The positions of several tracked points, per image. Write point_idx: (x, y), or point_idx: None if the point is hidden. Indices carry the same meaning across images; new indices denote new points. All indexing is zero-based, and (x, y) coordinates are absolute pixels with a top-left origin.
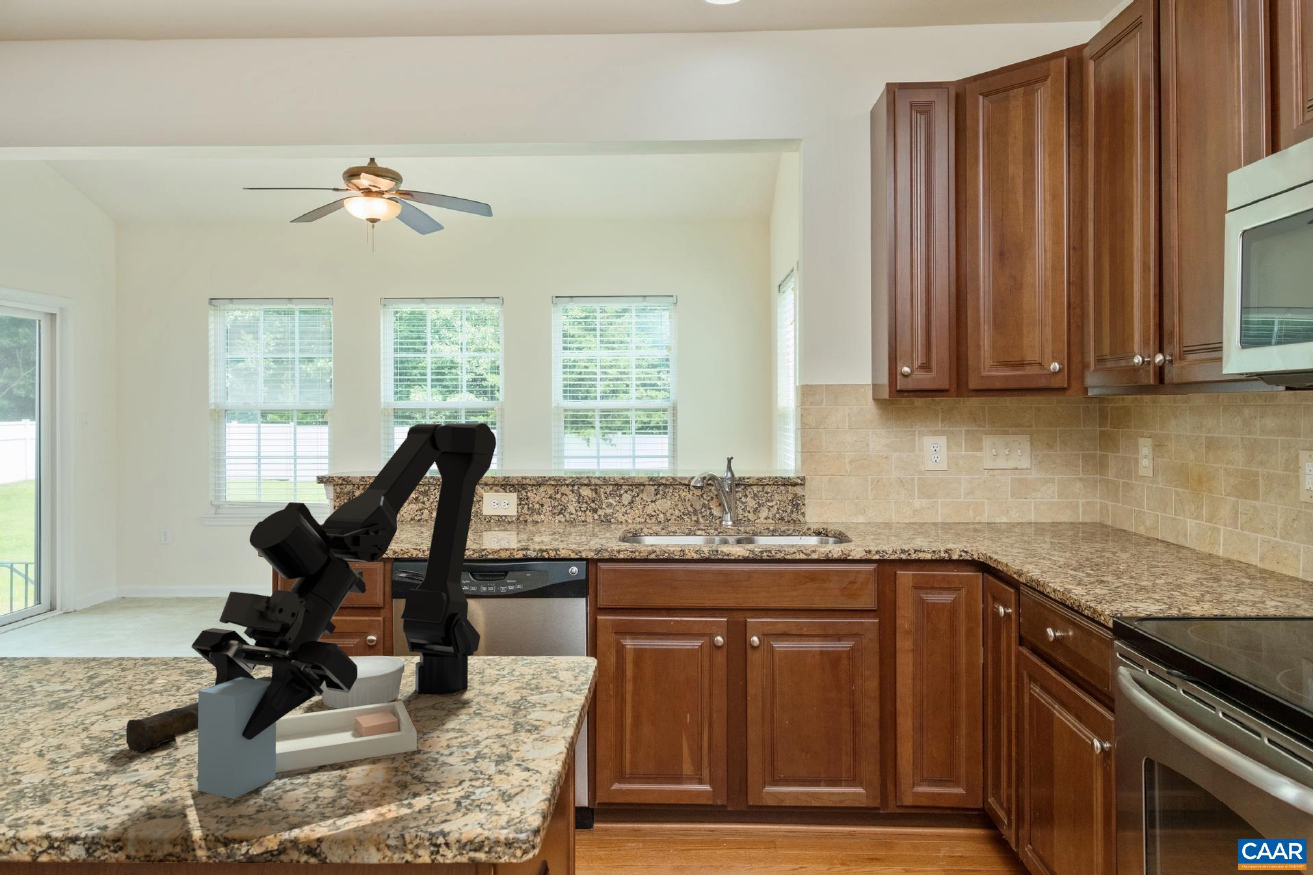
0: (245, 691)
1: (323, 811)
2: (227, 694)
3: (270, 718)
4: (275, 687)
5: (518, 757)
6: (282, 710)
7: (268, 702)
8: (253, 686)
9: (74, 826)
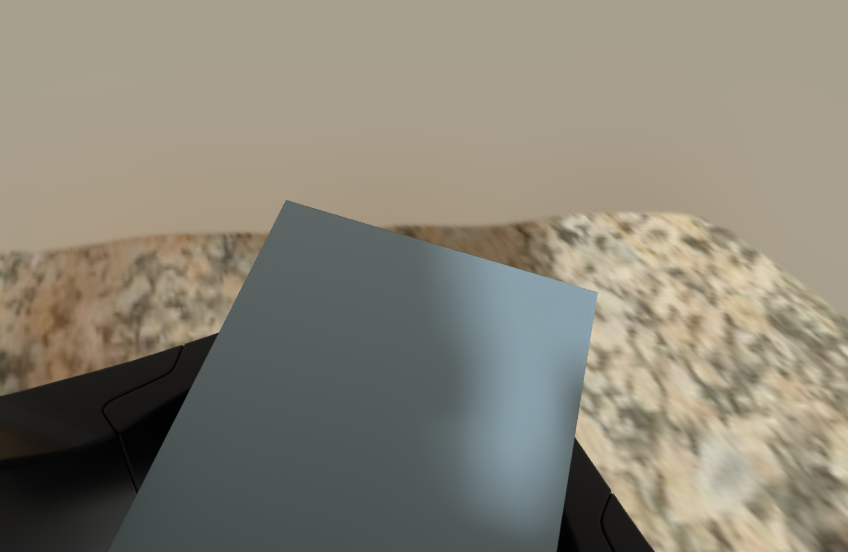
0: (268, 303)
1: (186, 324)
2: (359, 241)
3: None
4: (65, 396)
5: None
6: None
7: (174, 349)
8: (259, 423)
9: (621, 235)
